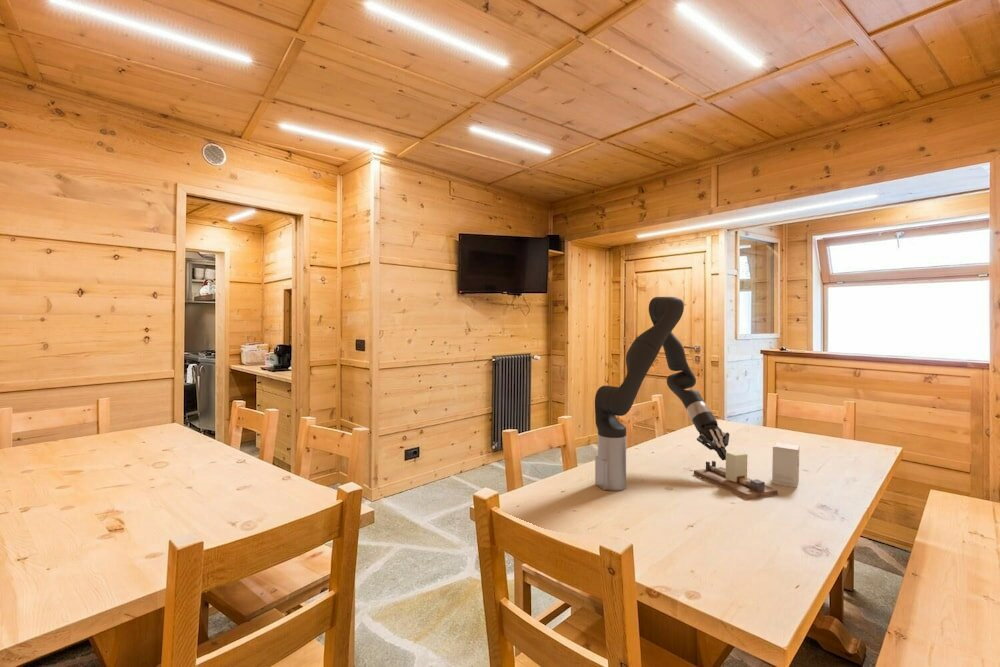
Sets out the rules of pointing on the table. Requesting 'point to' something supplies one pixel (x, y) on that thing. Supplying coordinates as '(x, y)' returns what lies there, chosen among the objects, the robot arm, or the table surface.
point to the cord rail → (740, 487)
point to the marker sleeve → (736, 465)
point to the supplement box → (785, 464)
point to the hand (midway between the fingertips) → (725, 459)
